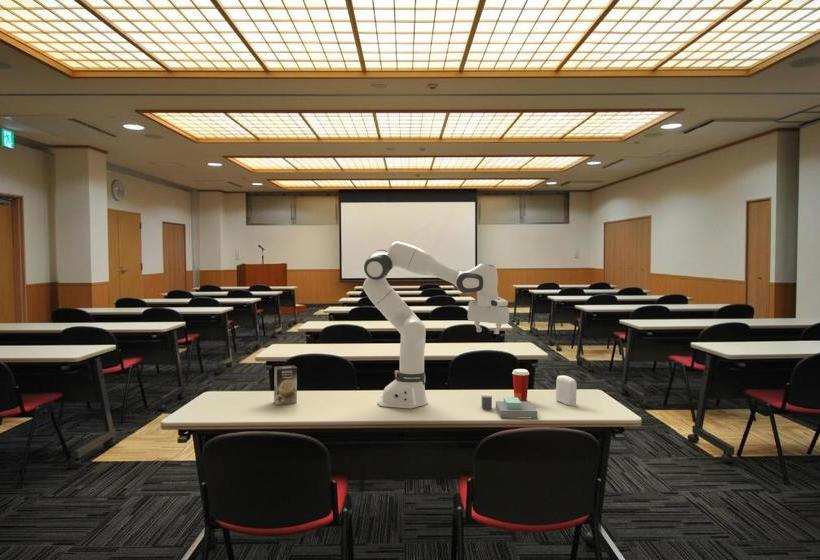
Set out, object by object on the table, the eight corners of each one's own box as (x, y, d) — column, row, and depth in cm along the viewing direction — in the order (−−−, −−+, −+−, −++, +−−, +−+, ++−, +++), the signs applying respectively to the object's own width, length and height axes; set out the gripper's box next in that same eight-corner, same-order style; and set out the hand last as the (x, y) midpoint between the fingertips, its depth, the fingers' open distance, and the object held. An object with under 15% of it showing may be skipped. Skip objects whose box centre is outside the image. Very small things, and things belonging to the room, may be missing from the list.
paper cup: (527, 398, 233) (528, 368, 232) (530, 403, 225) (530, 372, 225) (510, 398, 234) (511, 368, 233) (512, 402, 226) (513, 372, 226)
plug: (482, 409, 216) (482, 395, 216) (481, 406, 220) (481, 393, 220) (491, 409, 216) (491, 395, 216) (490, 406, 220) (490, 393, 220)
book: (577, 405, 222) (578, 378, 222) (570, 406, 220) (570, 379, 220) (561, 399, 231) (562, 373, 231) (554, 400, 230) (554, 374, 229)
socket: (500, 417, 204) (500, 410, 204) (495, 407, 218) (495, 401, 218) (537, 418, 203) (537, 411, 203) (530, 408, 217) (530, 401, 217)
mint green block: (506, 408, 207) (506, 402, 207) (503, 403, 215) (503, 397, 215) (521, 408, 207) (521, 402, 206) (517, 403, 215) (517, 397, 214)
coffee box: (276, 405, 220) (276, 369, 219) (273, 401, 226) (273, 366, 225) (297, 402, 224) (297, 367, 223) (294, 399, 230) (294, 364, 229)
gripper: (464, 300, 221) (464, 331, 221) (502, 302, 206) (502, 335, 207) (473, 299, 225) (473, 329, 226) (511, 301, 210) (511, 334, 211)
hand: (487, 332), depth 216 cm, fingers open, 8 cm apart
